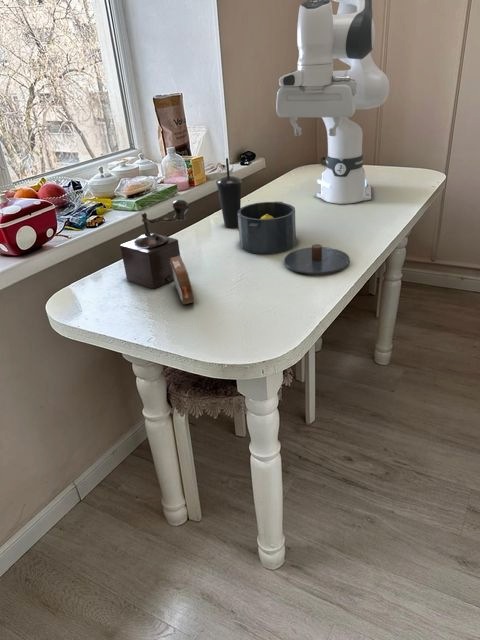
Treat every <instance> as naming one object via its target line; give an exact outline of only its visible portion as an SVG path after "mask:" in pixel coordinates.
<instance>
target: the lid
mask: <svg viewBox="0 0 480 640" xmlns="http://www.w3.org/2000/svg"><path fill="white" fill-rule="evenodd" d="M350 260H351V258H350V256H349V255H348V254H347V253H346V252H344V251H342V250H340V249H337V248H333V247H326V246H323V245H322V244H320V243H319V244H318V243H316V244H312V245H311V247H304V248H299V249H296V250H294V251H291V252H289V253H288V254H287V255H286V256H285V257H284V265H285V266H286V268H288V269H290V270H292V271H294V272H297V273H300V274H306V275H326V274H327V275H328V274H333V273H335V272H339V271H341V270H344V269H346V268H347V267H348V266H349V264H350Z"/></svg>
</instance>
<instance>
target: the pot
mask: <svg viewBox="0 0 480 640" xmlns="http://www.w3.org/2000/svg"><path fill="white" fill-rule="evenodd" d="M266 214H268V215H270V216H272V217H273V218H272V219H260V218H261V217H262V216H264V215H266ZM238 225H239V227H238V236H239V245H240V246H239V247H240V249H242V250H243V251H245V252H247V253H251V254H256V255H274V254H279V253H284V252H287V251H290V250H292V249H293V248H294V247H295V245H296V244H297V235H296V233H297V232H296V229H297V228H296V208H295V206H293V205H292V204H289V203H285V202H283V201H277V200H276V201H260V202H255V203H250V204H246V205H243V206H242V207H241V209H239V210H238Z"/></svg>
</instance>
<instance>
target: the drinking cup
mask: <svg viewBox="0 0 480 640" xmlns="http://www.w3.org/2000/svg"><path fill="white" fill-rule="evenodd" d="M225 165H226V175H225V176H222V177H220V178H219V179H217V180H216V181H215V184H216V185H217V186H216V187H217V191H218V197H219V203H220V208H221V213H222V219H223V223H224V227H225V228H226V229H235V228H239V225H238V210H239V209H241V208H242V207H241V204H242V202H241V200H242V199H241V198H242V183H243V181H242V180H243V179H242V178H239V177H237V176H233V175H230V165H229V158H227V157H225Z"/></svg>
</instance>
